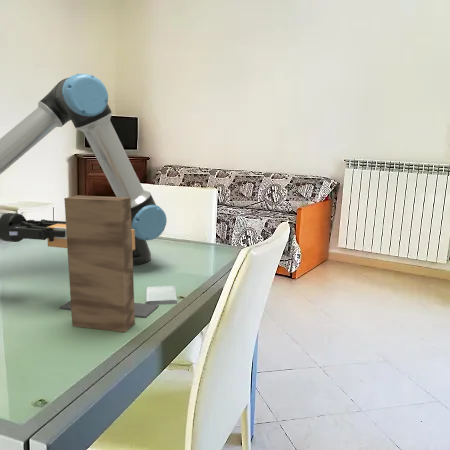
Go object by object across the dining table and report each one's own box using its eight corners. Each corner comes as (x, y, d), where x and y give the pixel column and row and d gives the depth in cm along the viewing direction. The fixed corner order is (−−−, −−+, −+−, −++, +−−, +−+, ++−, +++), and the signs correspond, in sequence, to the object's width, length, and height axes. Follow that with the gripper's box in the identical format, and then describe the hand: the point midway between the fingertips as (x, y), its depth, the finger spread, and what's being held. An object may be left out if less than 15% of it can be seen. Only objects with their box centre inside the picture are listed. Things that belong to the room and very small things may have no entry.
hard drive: (177, 299, 123) (174, 285, 135) (145, 301, 122) (146, 286, 134) (177, 305, 123) (175, 290, 135) (145, 307, 122) (146, 291, 134)
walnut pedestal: (84, 318, 113) (77, 195, 108) (134, 323, 110) (130, 197, 104) (72, 326, 109) (64, 198, 103) (125, 332, 105) (120, 200, 100)
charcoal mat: (76, 298, 127) (76, 296, 127) (158, 306, 121) (158, 305, 121) (59, 308, 119) (59, 307, 119) (145, 318, 113) (145, 316, 113)
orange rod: (58, 242, 122) (57, 223, 121) (135, 249, 116) (134, 229, 115) (47, 246, 118) (46, 227, 117) (126, 253, 112) (126, 233, 111)
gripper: (29, 234, 132) (103, 239, 126) (-18, 248, 115) (64, 255, 109) (27, 208, 130) (101, 211, 124) (-21, 218, 114) (62, 223, 108)
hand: (84, 232), depth 117 cm, fingers closed on orange rod, 4 cm apart
